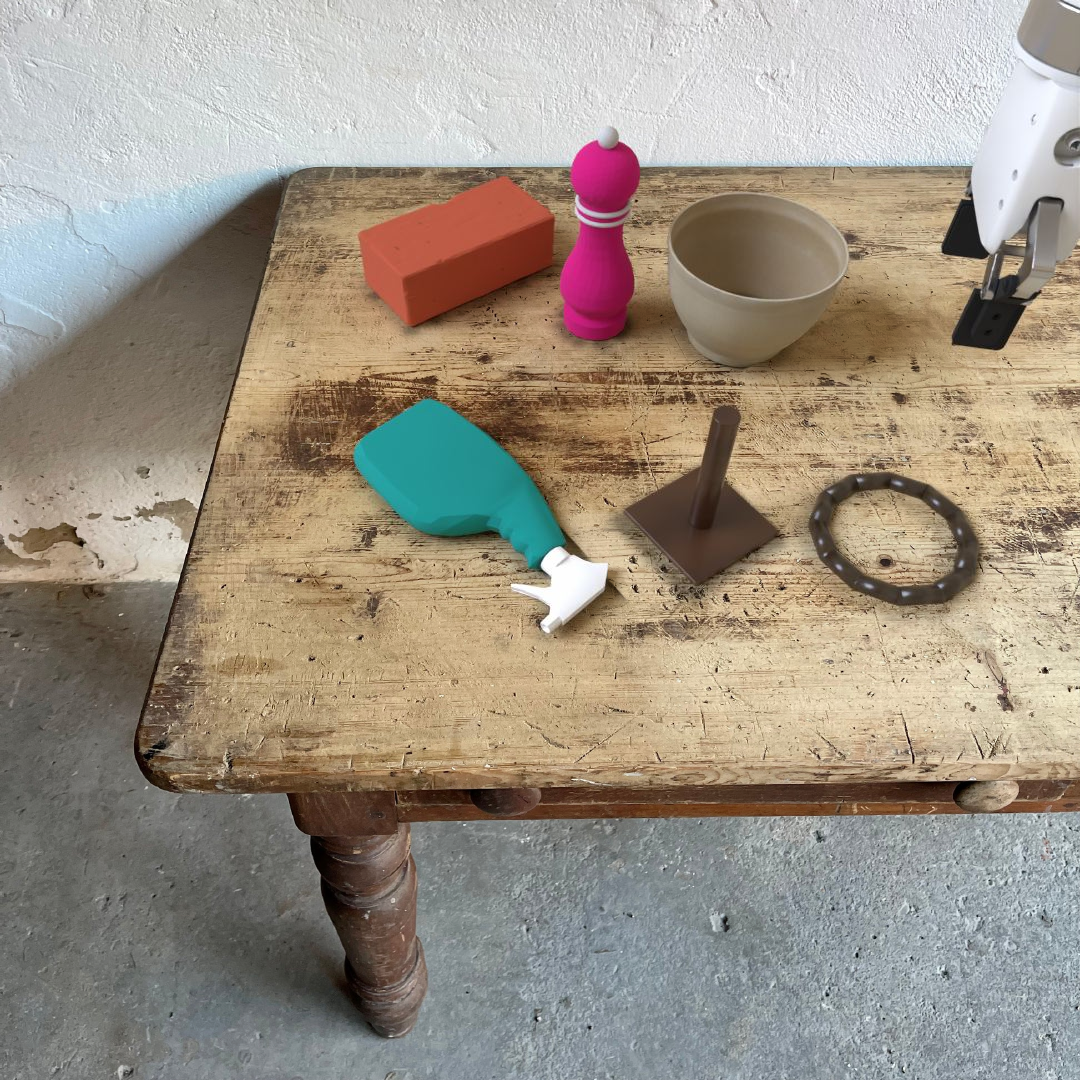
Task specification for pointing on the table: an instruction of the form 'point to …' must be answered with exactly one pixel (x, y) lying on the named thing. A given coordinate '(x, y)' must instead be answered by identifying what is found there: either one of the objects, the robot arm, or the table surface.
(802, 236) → the planter bowl
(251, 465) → the table surface
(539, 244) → the brick
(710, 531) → the stand
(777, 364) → the table surface
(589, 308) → the pepper mill
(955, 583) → the ring
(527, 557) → the spray bottle
